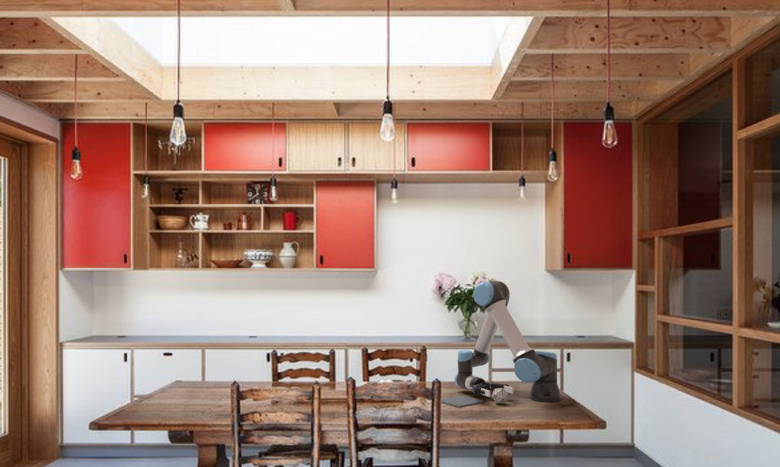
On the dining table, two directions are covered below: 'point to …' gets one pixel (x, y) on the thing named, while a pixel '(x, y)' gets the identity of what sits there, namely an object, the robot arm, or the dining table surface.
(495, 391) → the game die
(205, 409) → the dining table surface
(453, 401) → the mat
